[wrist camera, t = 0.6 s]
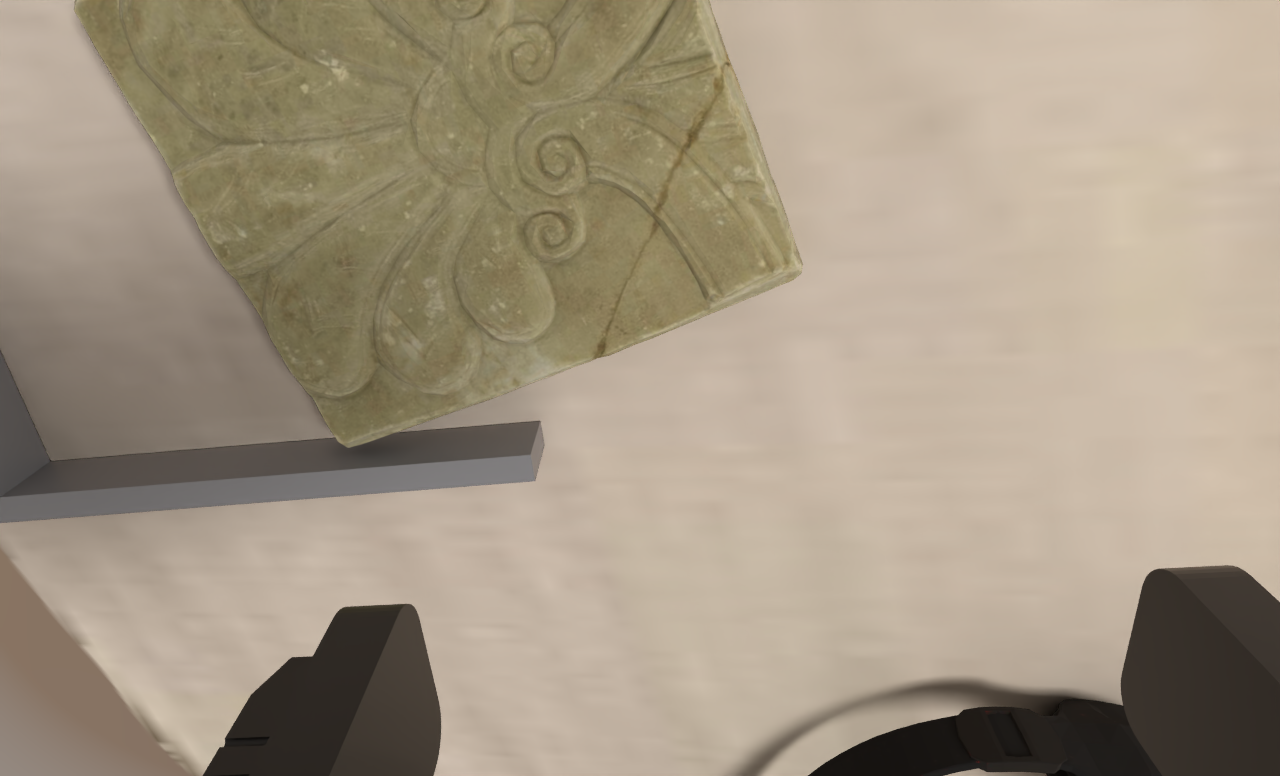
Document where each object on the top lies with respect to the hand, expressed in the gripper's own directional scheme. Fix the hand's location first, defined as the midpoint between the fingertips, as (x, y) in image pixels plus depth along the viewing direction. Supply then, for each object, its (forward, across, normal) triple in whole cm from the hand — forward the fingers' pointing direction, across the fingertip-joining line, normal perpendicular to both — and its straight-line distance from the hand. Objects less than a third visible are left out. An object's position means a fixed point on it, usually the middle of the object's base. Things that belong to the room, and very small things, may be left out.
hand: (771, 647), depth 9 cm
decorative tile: (+24, +8, -3) cm, 26 cm away
